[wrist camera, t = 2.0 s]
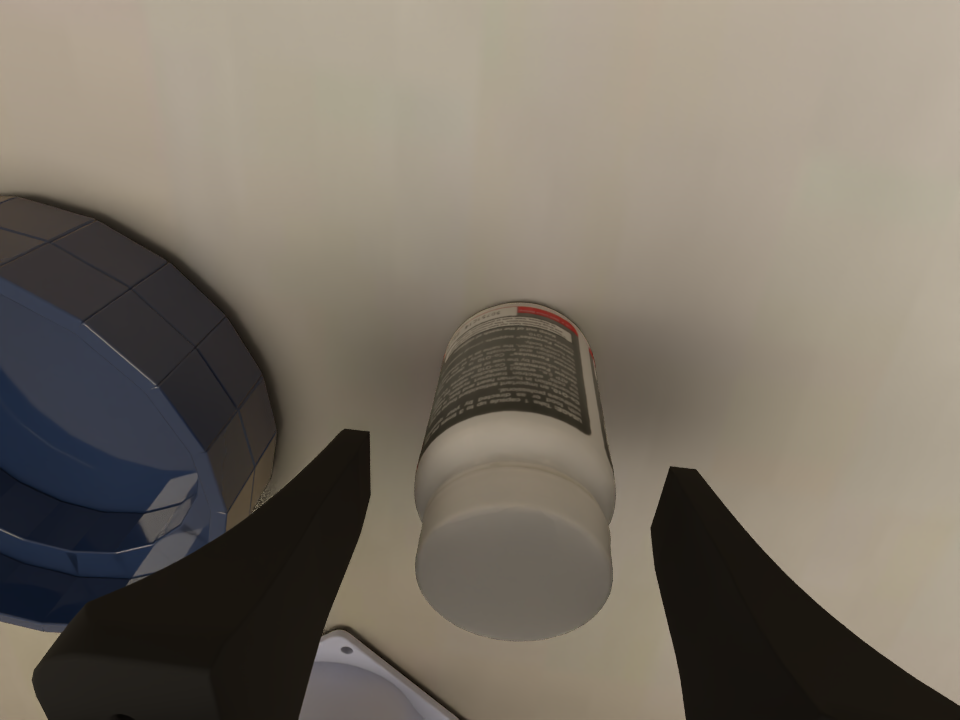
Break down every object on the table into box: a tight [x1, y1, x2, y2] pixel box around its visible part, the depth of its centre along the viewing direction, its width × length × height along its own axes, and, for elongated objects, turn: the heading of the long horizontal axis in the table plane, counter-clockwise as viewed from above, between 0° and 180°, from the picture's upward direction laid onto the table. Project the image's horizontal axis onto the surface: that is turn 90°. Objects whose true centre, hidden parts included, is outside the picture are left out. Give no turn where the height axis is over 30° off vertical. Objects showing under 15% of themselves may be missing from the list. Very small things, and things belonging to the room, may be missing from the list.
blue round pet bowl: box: [0, 196, 277, 633], centre depth 19 cm, size 14×14×4 cm
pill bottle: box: [415, 303, 616, 641], centre depth 16 cm, size 5×5×8 cm
